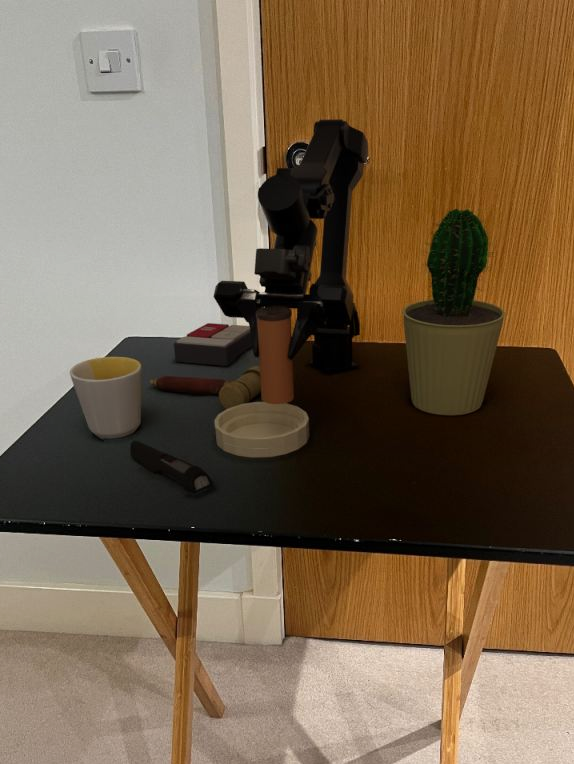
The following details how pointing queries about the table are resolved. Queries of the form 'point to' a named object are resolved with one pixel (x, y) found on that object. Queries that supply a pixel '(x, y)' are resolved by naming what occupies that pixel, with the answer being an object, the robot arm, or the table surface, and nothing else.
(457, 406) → the potted cactus
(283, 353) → the copper tin
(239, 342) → the gray and red box
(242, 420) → the bowl
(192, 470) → the electric trimmer
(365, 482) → the table surface
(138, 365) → the mug
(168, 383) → the gavel
